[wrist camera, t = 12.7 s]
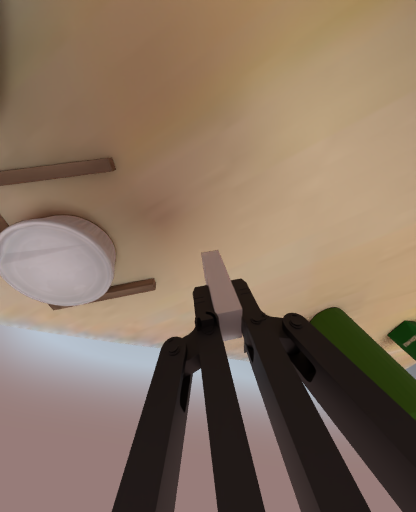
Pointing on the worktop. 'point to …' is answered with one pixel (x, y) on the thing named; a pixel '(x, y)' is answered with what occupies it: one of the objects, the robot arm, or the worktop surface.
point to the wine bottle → (368, 356)
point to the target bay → (68, 171)
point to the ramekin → (57, 259)
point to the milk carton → (405, 337)
